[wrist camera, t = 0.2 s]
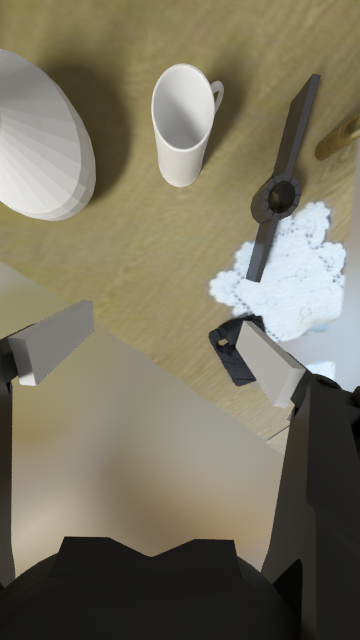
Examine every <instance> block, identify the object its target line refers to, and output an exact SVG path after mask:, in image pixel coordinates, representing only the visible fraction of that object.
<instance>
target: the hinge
mask: <svg viewBox="0 0 360 640" xmlns="http://www.w3.org/2000/svg"><path fill="white" fill-rule="evenodd" d="M320 76H321V75H317V74H313V75H312V76H311V77H310V78H309V80H308V81H307V82H306V84H305V85H304V86H303V88H302V89H301V90H300V92H299V93H298V94H297V95H296V97H295V98H294V99H293V101H292V102H291V106H290V109H289V113H288V117H287V121H286V125H285V129H284V133H283V136H282V140H281V144H280V148H279V152H278V156H277V160H276V163H275V167H274V171H273V175H272V179H271V180H270V181H269V182H267V183H266V184H265V185H263V186H262V187H261V188H260V189H259V190H258V191H257V193H256V194H255V195H254V197H253V199H252V203H251V212H252V217H253V218H254V219H255V220H256V221H257V222H258V223H260V225H259V229H258V233H257V237H256V241H255V245H254V248H253V252H252V256H251V260H250V264H249V268H248V272H247V275H246V279H248V280H251V281H253V282H259V283H260V281H261V277H262V274H263V271H264V267H265V264H266V260H267V257H268V253H269V250H270V247H271V243H272V240H273V236H274V233H275V230H276V226H277V223H278V221H279V220H281V219H283V218H286V217H288V216H290V215H291V214H292V212H293V211H294V210H295V209H296V208H297V206H298V204H299V200H300V197H301V187H300V182H299V181H298V180H297V179H296V177H295V176H294V175H292V171H293V168H294V165H295V161H296V158H297V154H298V151H299V147H300V144H301V141H302V137H303V134H304V130H305V127H306V124H307V120H308V117H309V113H310V110H311V106H312V103H313V100H314V96H315V93H316V89H317V86H318V82H319V79H320ZM270 191H274V192H275V193H276V194H277V195H278V196H279V201H280V204H279V208H278V211H277V212H276V213H273V211H272V210H271V209H270V208H269V205H268V196H269V192H270Z"/></svg>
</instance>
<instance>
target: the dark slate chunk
mask: <svg viewBox="0 0 360 640" xmlns="http://www.w3.org/2000/svg"><path fill="white" fill-rule="evenodd" d="M243 321H251V322H253V323H254V324H255V325H256V326H257V327H258V328H260V329H261V330H262V331H263V332H264V333H265V331H264V327H263V322H262V319H261V316H258V317H257V316H255V315H254V314H252V315H250V316H247V317H245V318H242V319H234V320H232V321H230V322H227V323H225V324H222V325H221V327H218V328H219V329H215V331H212V332H210V333H209V339H210V342H211V344H212V345H213V347H214V349H215V351H216V353H217V354H218V356H219V357H220V359H221V360H222V363H223V365H224V367H225V369H226V370H227V371H228V373H229V375H230V376H231V378H232V381H233V382H234V383H235V385H236V386H242V385H245V384H248V383H251V382H254V381H256V378H255V376H254V375H253V373H252V372H251V370H250V369H249V367H248V366H247V364H246V363H245V361H244V359H243V358H242V356H241V355H240V353H239V352H238V350H237V349H236V344H237V341H238V337H239V334H240V331H241V328H242V324H243ZM223 339H226V340H227V341H228V343H226V344H225V345H223V346H222V347H220V346H218V345H217V344H218V341H220V340H223Z"/></svg>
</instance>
